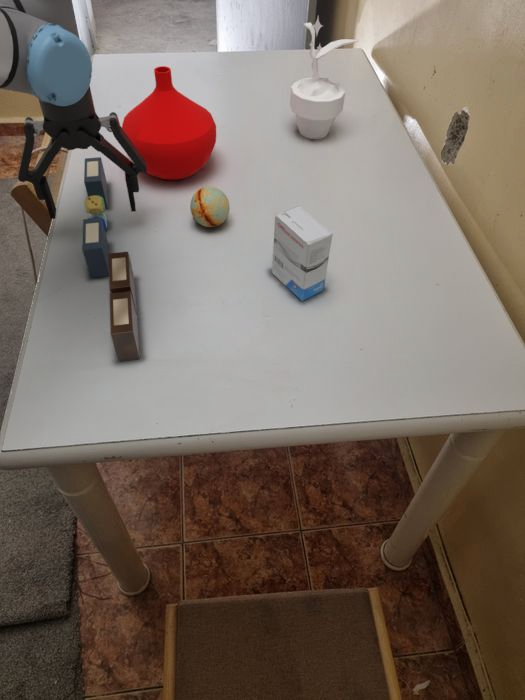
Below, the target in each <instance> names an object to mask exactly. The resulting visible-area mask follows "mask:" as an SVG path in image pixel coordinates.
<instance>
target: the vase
mask: <svg viewBox="0 0 525 700" xmlns="http://www.w3.org/2000/svg"><path fill="white" fill-rule="evenodd" d="M153 71H154V73H153V74H154V80H155V88H154V89H153V90H152V92H151V93H150V94H149V95H148V96H147V97H145V99H143V100H142V101H141V102H140V103H138V104H137V105H136V106H135V107H134V108H132V109H131V110H129V111H128V112H127V114H126V115H125V116H124V118H123V120H122V125H121V127H122V129H123V130H124V131H125V133H126V134H127V136H128V137H129V138H130V140H131V141H132V142H133V144H134V145H135V147H136V148H137V149H138V151H139V152H140V154H141V155H142V156H143V158H144V159H145V161H146V167H147V171H146V172H145V173H148V174H149V175H150V176H153V177H155V178H158V179H161V180H167V181H177V180H178V181H179V180H183V179H186V178H188V177H189V178H190V177H191V176H193V175H194V174H197V173H198V172H199V171H200V170H201V169H202V168H204V166H205V165H206V163H207V162H208V161H209V160H210V158H211V156H212V153H213V151H214V148H215V146H216V144H217V143H216V142H217V125H216V122H215V120H214V117H213V115H212V113H211V112H210V111H209V110H208V109H207V108H205V107H204V106H202V105H200V104H198V103H197V102H195V101H193V100H192V99H190V98H189V97H187V96H186V95H184V94H183V93H181V92H179V91H178V90H177V88H175V87H174V85H173V77H172V70H171V67H169V66H166V65H165V66H163V65H160V66H157V67H155V68H153Z"/></svg>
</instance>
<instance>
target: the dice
mask: <svg viewBox="0 0 525 700" xmlns="http://www.w3.org/2000/svg"><path fill="white" fill-rule="evenodd" d="M84 205H85V210H86V213H87V214H90V217H89V219H91V218H102V221H103V225H104V229H105V233H106V232H107V229H108V219H107V215H105V214H104V212H105V211H106V209H105V204H104V200H103V197H101V196H98V195H94V196H89V197H88V196H87V197H85V199H84Z"/></svg>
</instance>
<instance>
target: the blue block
mask: <svg viewBox="0 0 525 700" xmlns="http://www.w3.org/2000/svg"><path fill="white" fill-rule="evenodd" d="M103 164H104V163H103V160H102V157H101V156H99V157H88V158H87V157H86V158H84V171H83V172H84V173H83V174H84V175H83V183H84V184H83V185H84V187H85V190H86V195H87V197H89V196H94V195H98V196H101V197H103V200H104V204H105V210H106V209H109V200H108V197H109V195H108V194H109V193H108V182H107V178H106V173H105V168H104V165H103ZM81 248H82V253H83V257H84V260H85V263H86V267H87V270H88V273H89V276H90V279H98V278H106V277H109V253H110V245H109V241H108V236H107V234H106V232H105V229H104V225H103V221H102V218H91V219H90V218H84V219H82V247H81Z"/></svg>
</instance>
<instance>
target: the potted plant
mask: <svg viewBox="0 0 525 700" xmlns="http://www.w3.org/2000/svg"><path fill="white" fill-rule="evenodd" d="M302 26H304V27H305V28H306V29H308V30H309V32H310V35H311V41H310V43H309V44H308V46H310V50H309V55H310V58H311V71H312V77H305V78H302V79H299V80H296V81H295V82H294V83H293V84H292V85H291V86H290V99H289V106H290V110H291V112H292V113H294V114H295V115H294V116H295V118H296V124H297V127H298V132H299V134H300V135H301V136H303V137H304V138H306V139H310V140H320V139H322V138H325V137H327V135H328V134H329V132H330V130H331V128H332V126H333V124H334V122H335V120H336V118H337V117H339V115H341V114H342V112H343V109H344V104H345V103H344V102H345V97H346V91H345V89H344V86H343V85H342V84H340V83H339V82H336V81H335V80H332V79H330V78H329V77H319V76H320V75H319V60H321V58H323V57H325V56H326V55H328V54H330V53H331V52H333V51H334V50H336V49H338V48H340V47H342V46H345V45H350V44H354V43H358V42H359V40H357V39H351V38H346V39H345V38H344V39H338V40H333V41H331V42H329V43H327V44H326V45H325V46H323V47H322V46H321V43H319V45H318V46H317V47H316V49H317V50H318V52H317V54H316V49H315V44H316V43H315V41H316V36H318V34H319V31H320V29H321V28H322V27H323V24H321V23H320V17H319V15H317V18H316V21H315V22H314V24H312V22H311V21H310V22H304V23H303V24H302Z"/></svg>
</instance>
